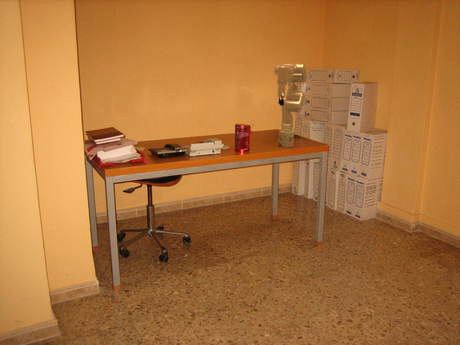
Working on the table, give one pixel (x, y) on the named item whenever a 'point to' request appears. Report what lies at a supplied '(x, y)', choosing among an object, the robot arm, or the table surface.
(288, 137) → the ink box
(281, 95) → the robot arm
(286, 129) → the sage block
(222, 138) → the table surface
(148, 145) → the table surface
